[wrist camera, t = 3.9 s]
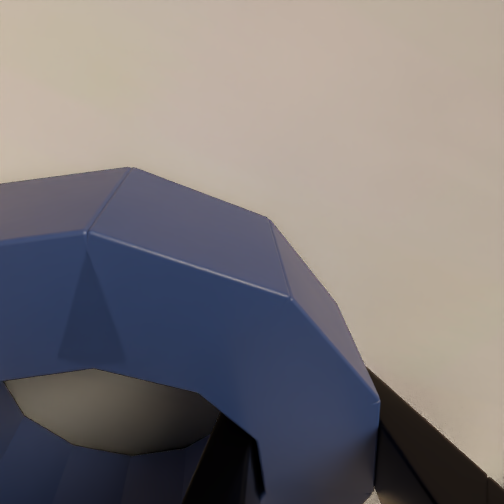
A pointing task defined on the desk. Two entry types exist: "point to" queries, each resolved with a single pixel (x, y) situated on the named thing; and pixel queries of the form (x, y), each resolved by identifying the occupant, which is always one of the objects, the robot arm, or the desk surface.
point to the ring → (175, 339)
